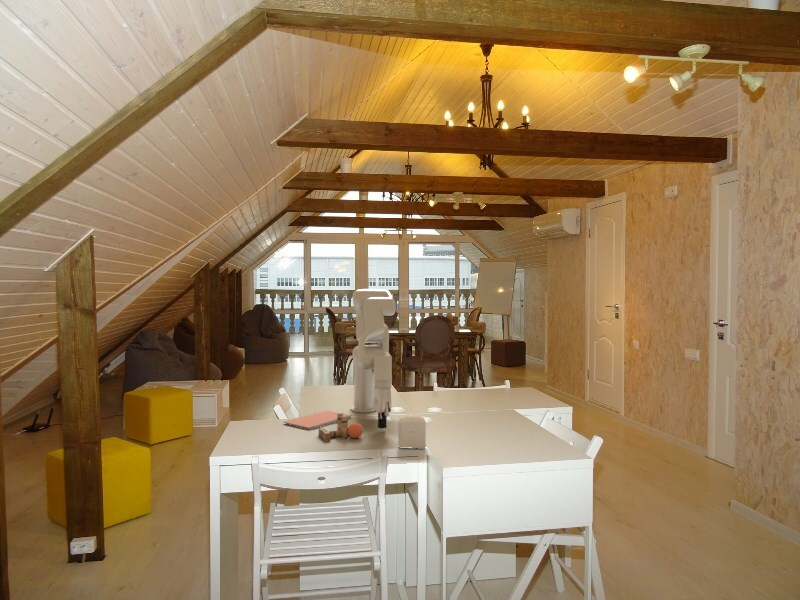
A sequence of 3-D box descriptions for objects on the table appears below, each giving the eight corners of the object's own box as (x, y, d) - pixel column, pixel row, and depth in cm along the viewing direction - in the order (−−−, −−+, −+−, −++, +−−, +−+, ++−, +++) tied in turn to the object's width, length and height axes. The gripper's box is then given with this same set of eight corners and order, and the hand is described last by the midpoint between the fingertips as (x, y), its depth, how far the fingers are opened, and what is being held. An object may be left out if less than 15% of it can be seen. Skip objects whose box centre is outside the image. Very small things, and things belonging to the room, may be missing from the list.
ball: (342, 430, 210) (351, 418, 212) (347, 434, 215) (356, 422, 217) (353, 438, 207) (363, 425, 209) (358, 442, 213) (367, 430, 214)
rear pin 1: (336, 433, 218) (336, 413, 218) (342, 433, 219) (342, 412, 219) (338, 435, 216) (338, 414, 215) (344, 434, 217) (344, 414, 216)
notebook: (310, 432, 222) (310, 427, 222) (282, 425, 232) (283, 421, 232) (353, 419, 244) (353, 415, 244) (326, 413, 254) (326, 409, 254)
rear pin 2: (340, 437, 213) (340, 416, 213) (346, 436, 214) (346, 415, 214) (342, 438, 211) (342, 417, 211) (348, 438, 212) (348, 416, 212)
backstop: (318, 435, 215) (318, 428, 215) (323, 434, 216) (323, 427, 216) (325, 441, 207) (325, 433, 207) (330, 440, 208) (330, 433, 208)
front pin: (348, 433, 217) (328, 435, 214) (348, 428, 217) (328, 430, 213) (350, 436, 215) (330, 438, 212) (350, 431, 215) (330, 433, 211)
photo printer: (398, 449, 198) (398, 416, 198) (398, 446, 202) (398, 413, 202) (425, 450, 198) (426, 416, 197) (425, 446, 202) (425, 414, 202)
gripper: (367, 381, 227) (367, 424, 228) (381, 387, 214) (381, 433, 214) (383, 380, 230) (383, 422, 231) (398, 386, 217) (397, 431, 217)
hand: (382, 427), depth 223 cm, fingers closed
